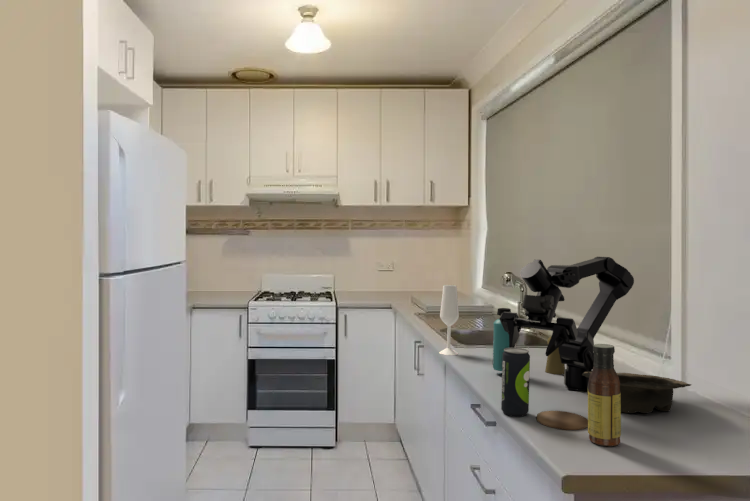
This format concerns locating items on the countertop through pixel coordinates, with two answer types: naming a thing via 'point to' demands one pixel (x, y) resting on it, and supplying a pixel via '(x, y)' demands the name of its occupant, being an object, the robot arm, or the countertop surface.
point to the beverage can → (515, 382)
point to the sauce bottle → (604, 398)
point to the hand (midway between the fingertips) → (528, 352)
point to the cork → (554, 363)
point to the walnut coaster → (562, 420)
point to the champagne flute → (449, 313)
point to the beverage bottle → (499, 341)
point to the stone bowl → (645, 392)
